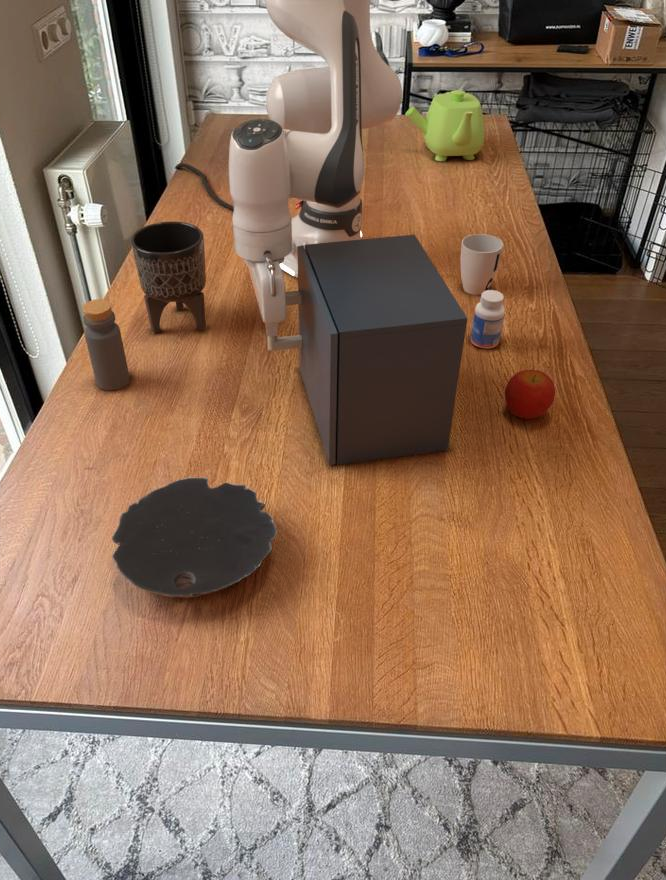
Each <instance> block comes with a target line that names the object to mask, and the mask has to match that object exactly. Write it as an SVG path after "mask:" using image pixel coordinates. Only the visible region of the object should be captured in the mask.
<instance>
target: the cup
mask: <svg viewBox="0 0 666 880" xmlns="http://www.w3.org/2000/svg"><path fill="white" fill-rule="evenodd" d="M460 247H461V248H460V259H459V260H460V261H459V262H460V278H461V284H462V288H463V291H464V292H466V293H467V294H469V295H474V296H481V295H482V293H483V292H484V291H487V290H490V288H491V286H492V284H493V281H494V279H495V277H496V274H497V271H498V268H499V265H500V261H501V257H502V253H503V248H504V242H503V241H502V240H501V239H500V238H499V237H497V236H494V235H491V234H486V233H474V234H469V235H467V236H465V237H463V239H462V240H461V246H460Z"/></svg>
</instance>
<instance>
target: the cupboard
mask: <svg viewBox="0 0 666 880" xmlns="http://www.w3.org/2000/svg"><path fill="white" fill-rule="evenodd" d="M305 251H306V254H307V256H308V259H309V261H310V264H311V266H312V269H313V271H314V274H315V277H316V279H317V282H318V284H319V287H320V289H321V292H322V294H323V297H324V299H325V302H326V305H327V307H328V310H329V312H330V315H331V317H332V320H333V322H334V325H335V327H336V330H337V333H338V351H337V404H336V456H335V464H336V465H337V466H338V465H346V464H354V463H362V462H367V461H369V462H370V461H376V460H385V459H391V458H399V457H406V456H415V455H421V454H422V455H423V454H429V453H436V452H444V451H448V450H449V445H450V438H451V433H452V432H451V431H452V426H453V425H452V424H453V418H454V412H455V406H456V405H455V404H456V397H457V390H458V385H459V378H460V372H461V366H462V365H461V364H462V358H463V352H464V344H465V338H466V331H467V325H468V317H467V315H466V313H465V311H463V309H462V307H461V305H460V304H459V302H458V301H457V299H456V298H455V296H454V294H453V293H452V291H451V290H450V288H449V286H448V285H447V284H446V282H445V280H444V279H443V277H442V275H441V273H439V271H438V269H437V268H436V266H435V264H434V263H433V261H432V260H431V258H430V257H429V255H428V253H427V252H426V251H425V249H424V247H423V246H422V244H421V242H420V241H419V239H418V237H417V235H416V234H406V235H405V234H404V235H395V236H382V237H373V238H361V240H350V241H339V242H328V243H317V244H307V245H305Z"/></svg>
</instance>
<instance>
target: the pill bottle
mask: <svg viewBox="0 0 666 880" xmlns="http://www.w3.org/2000/svg"><path fill="white" fill-rule="evenodd" d="M479 299H480V300H479V302H478V303H477V304H476V305H475V307H474V314H473V319H472V327H471V331H470V342H471V344H472V345H474V346H475V347H477V348H481V349H493V348H495V347H497V346H498V345H499V344H500V340H501V335H502V330H503V324H504V321H505V314H506V308H505V306H504V301H505V295H504V294H503V293H502V292H501V291H498V290H495V289H489V290H487V291H484V292H483V293H482V295H480V298H479Z"/></svg>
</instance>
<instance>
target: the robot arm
mask: <svg viewBox="0 0 666 880" xmlns="http://www.w3.org/2000/svg"><path fill="white" fill-rule="evenodd" d="M264 5H265V8H266V12H267V14H268V16H269V18H270V20H271V21H272V23H273V24H274V25H275V26H276V28H277V29H278V30H279V31H280V32H282V34H284V35H285V36H286V37H287V38H289V39H290V40H291V41H293V42H295V43H296V44H298V45H299V46H302V47H304V48H305V49H307V50H309V51H311V52H313V53H314V54H316V55H318V56H319V57H320V58H322V59H323V60H324V61H325V62H326V64H327V66H324V67H323V66H322V67H312V68H299V69H296V70H292V71H289V72H286V73H282V74H280V75H277V76H275V77H274V78H273V79H272V80H271V82H270V84H269V86H268V89H267V92H266V97H265V108H266V113H267V116H268V119H267V118H255V119H250V120H246V121H244V122H242V123H240V124H239V125H237V126H236V127H234V129H232V132H231V135H230V139H229V148H228V183H229V184H228V185H229V194H230V197H231V199H232V203H233V205H232V204H229V203H228V202H226V201H224V200H222V199H221V198H219V197H218V196H217V195H216V194H215V193H214V192H213V190H212V189H211V187H210V185H209V183H208V182H207V178H206V175H205V174H204V173H203V172H202V171H201V170H200V169H198V168H196V167H194V166H193V165H191V164H188V163H184V162H179V163H177V164H176V165H175V167H174V169H175V170H179V169H180V168H184V169H185V168H186V169H188V170H190V171H192V172H193V173H195V174H197V175H198V176H199V177H200V178H201V182H202V184H203V186H204V188H205V190H206V192H207V193H208V195H209V196H210V197H211V199H212V200H214V201H215V202H217V204H219V205H221V206H222V207H224V208H227V209H228V210H229V211H233V212H232V215H231V216H232V218H231V220H232V223H231V224H232V232H233V233H232V234H233V245H234V252H235V254H236V255H237V256H238V257H240V258H242V259H243V262H244V264H246V265H247V268H248V272H249V276H250V279H251V282H252V283H251V284H252V286H253V291H254V294H255V298H256V301H257V305H258V308H259V312H260V316H261V319H262V322H263V323H264V327H265V328H264V329H265V333H266V337H267V336H276V335H277V336H278V334H279V329H278V328H279V323H284V322H286V321H287V317H288V313H287V305H286V295H285V292H286V285H285V278H284V272H285V273H287V274H289V275H291V276H293V277H295V278H297V279H298V257H297V246H304V249H305V245H307V244H317V243H328V242H339V241H350V240H361V239H362V237H363V233H362V223H363V200H362V198H361V196H362V195H361V193H362V188H363V184H364V179H365V158H364V149H363V148H364V147H363V134H362V132H363V130H366V129H367V130H368V129H372V128H375V127H379V126H382V125H384V124H387V123H389V122H392V121H393V120H394V119H395V118H396V116H397V115H398V113H399V110H400V109H401V105H402V102H403V88H402V87H403V86H402V83H401V80H400V78H399V76H398V75H397V73H396V72H395V70H394V69H393V68H392V67H391V66H390V65H389V64H387V62H385V60H384V59H383V58H382V57H381V56H380V54H379V53H378V51H377V49H376V46H375V44H374V40H373V37H372V31H371V0H264ZM289 200H297V201H298V202H296V203H295V204H294V205H295V210H298V209H300V210H299V213H298V214H296V215H295V216H293V217H292V213H291V210H290V205H289Z"/></svg>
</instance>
